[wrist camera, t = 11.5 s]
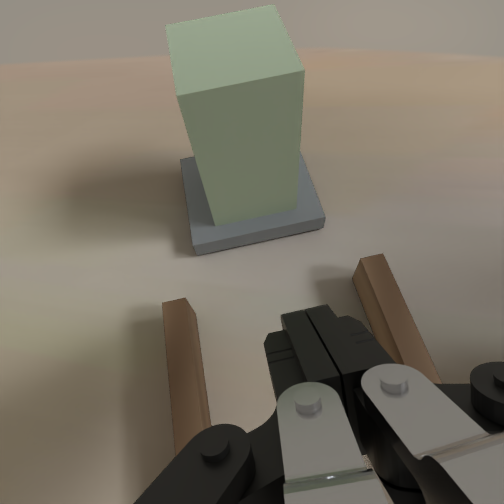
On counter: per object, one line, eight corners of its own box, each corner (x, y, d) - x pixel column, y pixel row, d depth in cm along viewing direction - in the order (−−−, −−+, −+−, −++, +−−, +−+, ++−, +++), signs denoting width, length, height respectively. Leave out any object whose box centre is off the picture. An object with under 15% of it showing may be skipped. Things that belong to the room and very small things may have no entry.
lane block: (293, 148, 25) (300, -13, 17) (323, 227, 22) (351, 78, 13) (184, 171, 25) (131, 19, 16) (197, 255, 22) (138, 121, 13)
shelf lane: (372, 274, 20) (383, 253, 18) (574, 752, 12) (642, 823, 10) (175, 318, 20) (161, 302, 18) (231, 850, 11) (219, 947, 9)
